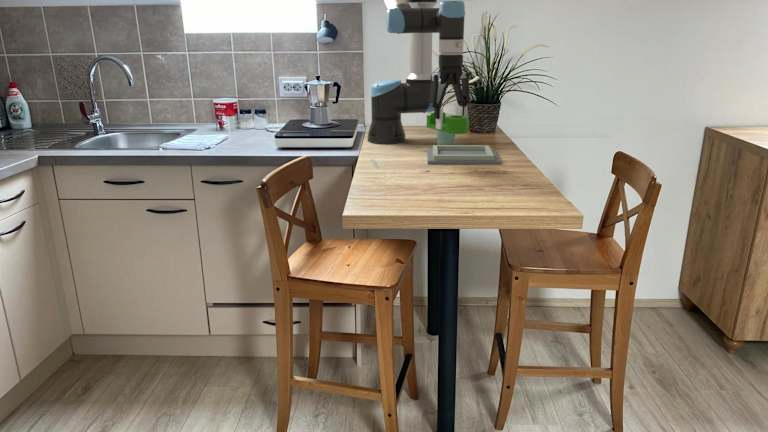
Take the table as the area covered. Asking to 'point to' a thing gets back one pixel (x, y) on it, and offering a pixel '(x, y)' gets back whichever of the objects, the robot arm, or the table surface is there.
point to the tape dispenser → (449, 123)
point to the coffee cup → (445, 136)
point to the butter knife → (374, 163)
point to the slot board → (462, 154)
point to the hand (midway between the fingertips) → (448, 127)
